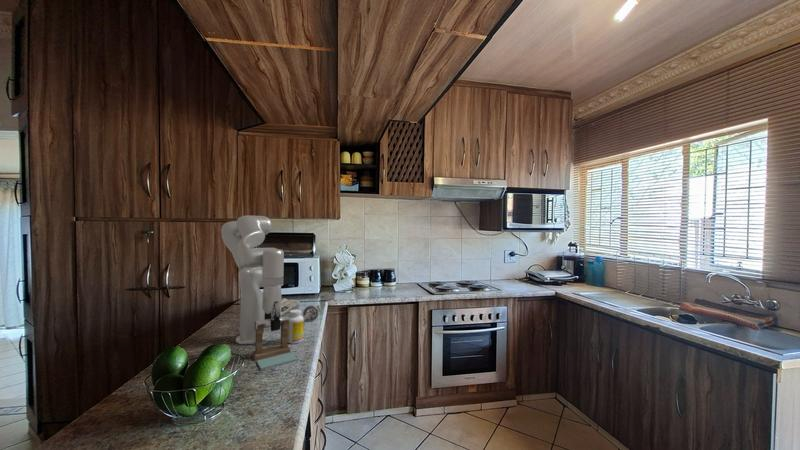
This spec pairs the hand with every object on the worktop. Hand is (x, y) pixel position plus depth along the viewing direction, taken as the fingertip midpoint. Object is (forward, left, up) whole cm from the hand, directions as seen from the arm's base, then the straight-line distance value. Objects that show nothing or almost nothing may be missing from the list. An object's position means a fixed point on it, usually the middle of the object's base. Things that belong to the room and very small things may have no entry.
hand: (272, 326), depth 109 cm
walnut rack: (0, 0, -10) cm, 10 cm away
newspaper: (-59, +17, -11) cm, 62 cm away
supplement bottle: (-7, +11, -11) cm, 17 cm away
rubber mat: (+8, 0, -10) cm, 13 cm away
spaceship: (-29, +26, -11) cm, 40 cm away
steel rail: (0, 0, 0) cm, 0 cm away
